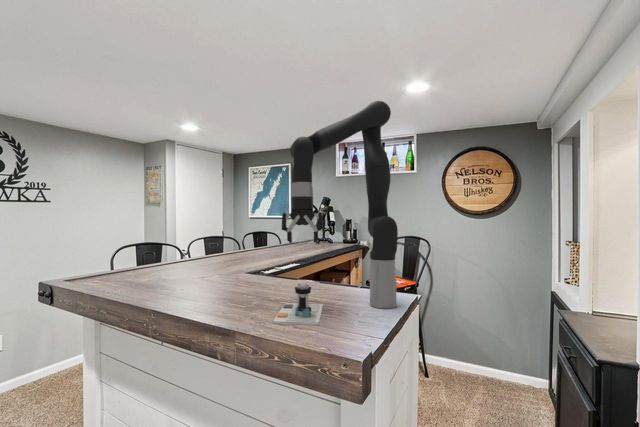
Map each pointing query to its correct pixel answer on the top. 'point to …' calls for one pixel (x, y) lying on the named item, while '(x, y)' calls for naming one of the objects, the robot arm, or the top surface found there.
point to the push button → (303, 301)
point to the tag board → (289, 316)
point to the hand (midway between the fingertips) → (302, 242)
